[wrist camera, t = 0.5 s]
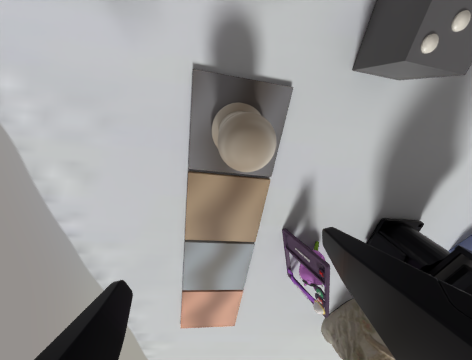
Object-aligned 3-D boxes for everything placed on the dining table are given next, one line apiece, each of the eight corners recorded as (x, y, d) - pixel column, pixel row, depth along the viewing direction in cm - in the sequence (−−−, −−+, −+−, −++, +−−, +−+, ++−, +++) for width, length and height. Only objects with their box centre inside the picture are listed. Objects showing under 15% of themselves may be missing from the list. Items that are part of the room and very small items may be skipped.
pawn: (267, 107, 17) (302, 114, 10) (257, 157, 18) (280, 190, 12) (214, 98, 16) (215, 100, 9) (209, 152, 18) (207, 184, 11)
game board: (291, 87, 16) (293, 87, 16) (234, 323, 31) (234, 325, 30) (193, 69, 15) (193, 68, 15) (181, 325, 29) (180, 328, 29)
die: (429, 12, 15) (523, -24, 11) (399, 80, 17) (467, 74, 13) (377, -3, 14) (456, -49, 10) (352, 70, 16) (407, 60, 12)
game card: (321, 270, 17) (321, 322, 21) (358, 245, 19) (352, 297, 23) (277, 231, 23) (283, 278, 27) (308, 214, 25) (310, 260, 29)
